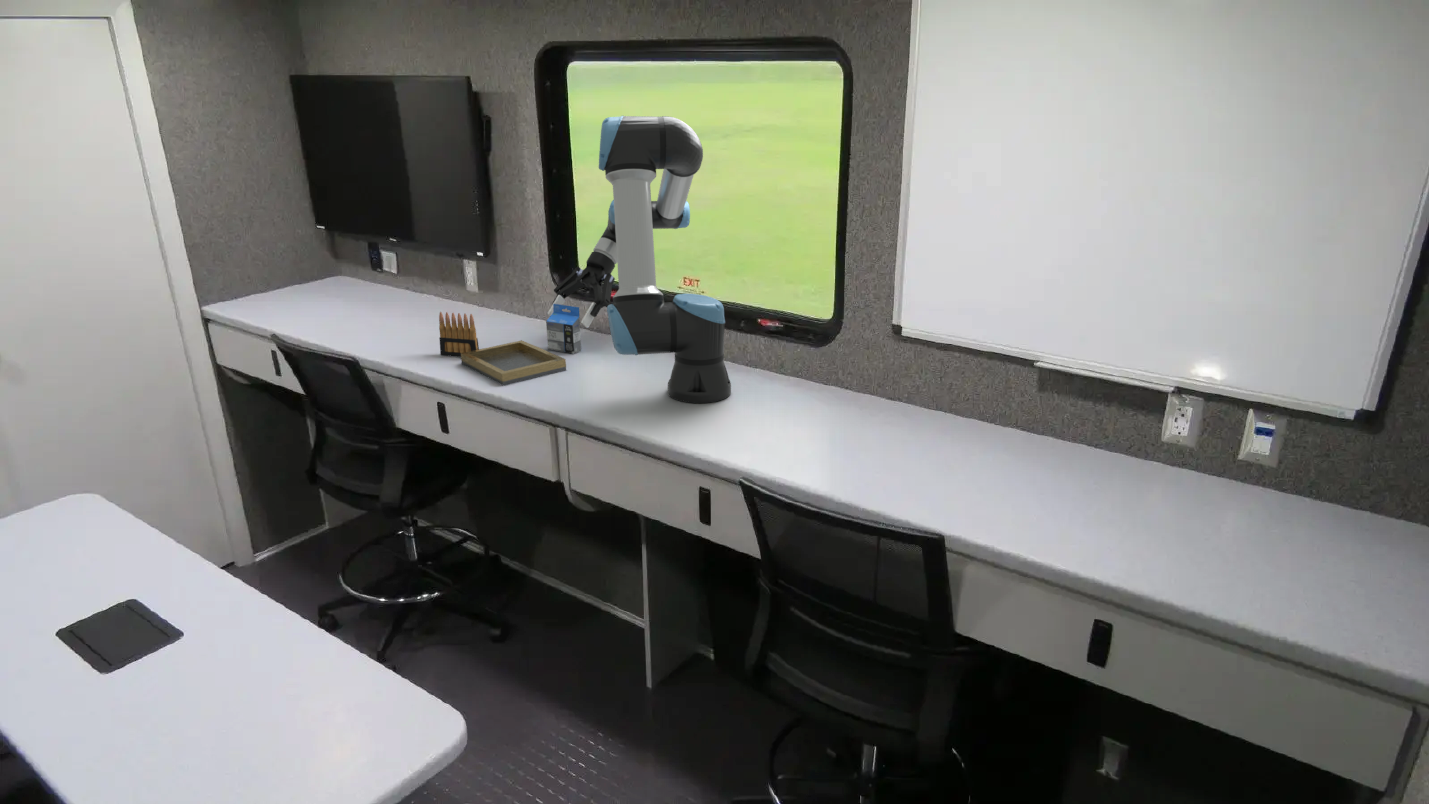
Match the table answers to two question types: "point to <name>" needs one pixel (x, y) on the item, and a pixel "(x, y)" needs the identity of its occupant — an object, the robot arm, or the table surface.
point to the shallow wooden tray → (513, 362)
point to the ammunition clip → (457, 335)
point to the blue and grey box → (564, 329)
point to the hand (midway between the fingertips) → (567, 321)
